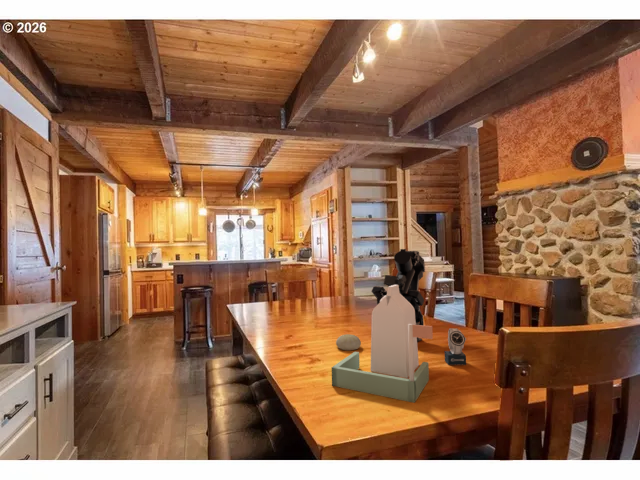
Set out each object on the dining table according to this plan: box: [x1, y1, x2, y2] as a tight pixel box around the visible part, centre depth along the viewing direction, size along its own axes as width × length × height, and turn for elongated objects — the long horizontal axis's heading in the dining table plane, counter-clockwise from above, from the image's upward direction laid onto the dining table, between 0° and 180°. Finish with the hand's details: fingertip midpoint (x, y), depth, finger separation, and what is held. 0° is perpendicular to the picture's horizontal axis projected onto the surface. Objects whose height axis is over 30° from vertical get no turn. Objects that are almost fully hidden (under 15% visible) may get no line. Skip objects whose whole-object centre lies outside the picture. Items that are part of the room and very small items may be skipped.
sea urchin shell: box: [335, 333, 362, 351], centre depth 131 cm, size 9×8×8 cm
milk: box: [370, 285, 420, 379], centre depth 109 cm, size 12×12×26 cm
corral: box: [331, 324, 434, 403], centre depth 97 cm, size 16×28×19 cm, turn 60°
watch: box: [444, 328, 467, 366], centre depth 113 cm, size 6×8×11 cm
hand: (388, 315), depth 121 cm, fingers open, 9 cm apart
